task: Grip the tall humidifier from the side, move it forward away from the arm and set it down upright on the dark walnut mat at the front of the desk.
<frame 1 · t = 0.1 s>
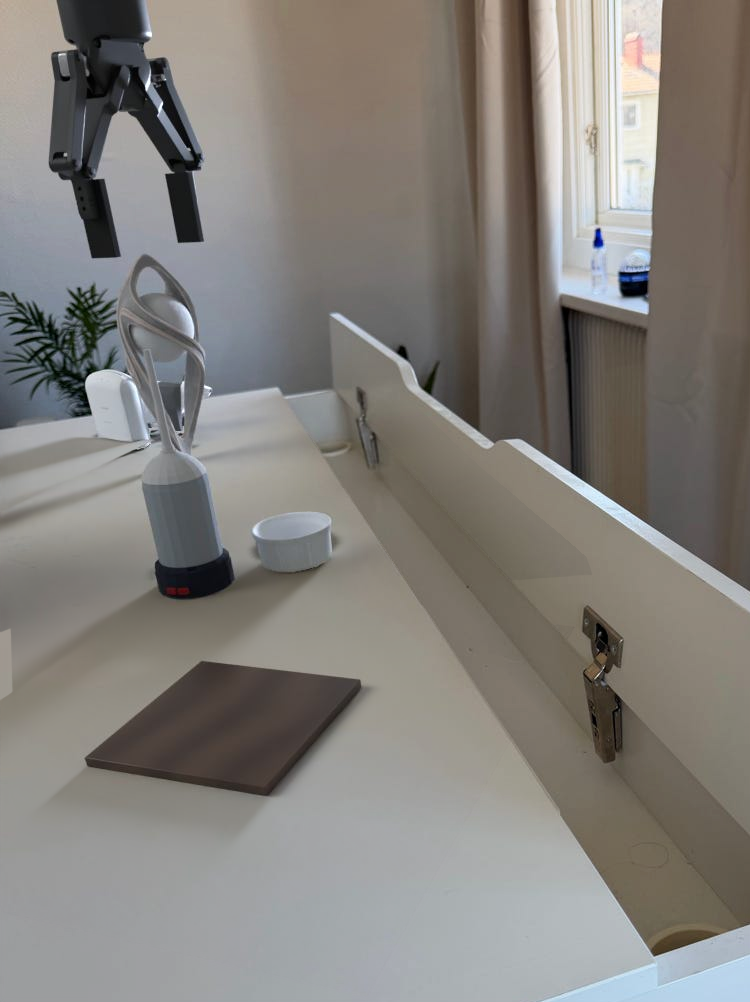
hand: (151, 250, 95), 34 cm above the table, tool pointing down, fingers open, 13 cm apart
dark grey angular block: (173, 432, 168), on the table
photo printer: (126, 447, 162), on the table
sculpture: (187, 461, 151), on the table
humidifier: (197, 584, 107), on the table
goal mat: (231, 724, 80), on the table
ramekin: (297, 561, 111), on the table
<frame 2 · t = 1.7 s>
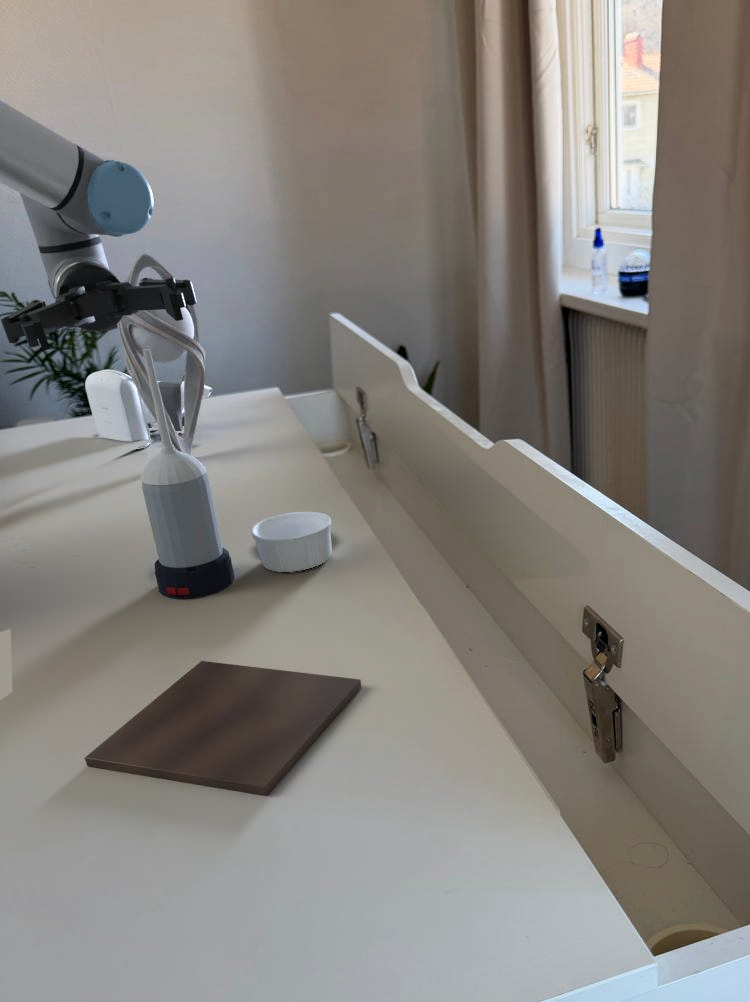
hand: (110, 321, 100), 27 cm above the table, tool horizontal, fingers open, 13 cm apart
nothing on the table moved.
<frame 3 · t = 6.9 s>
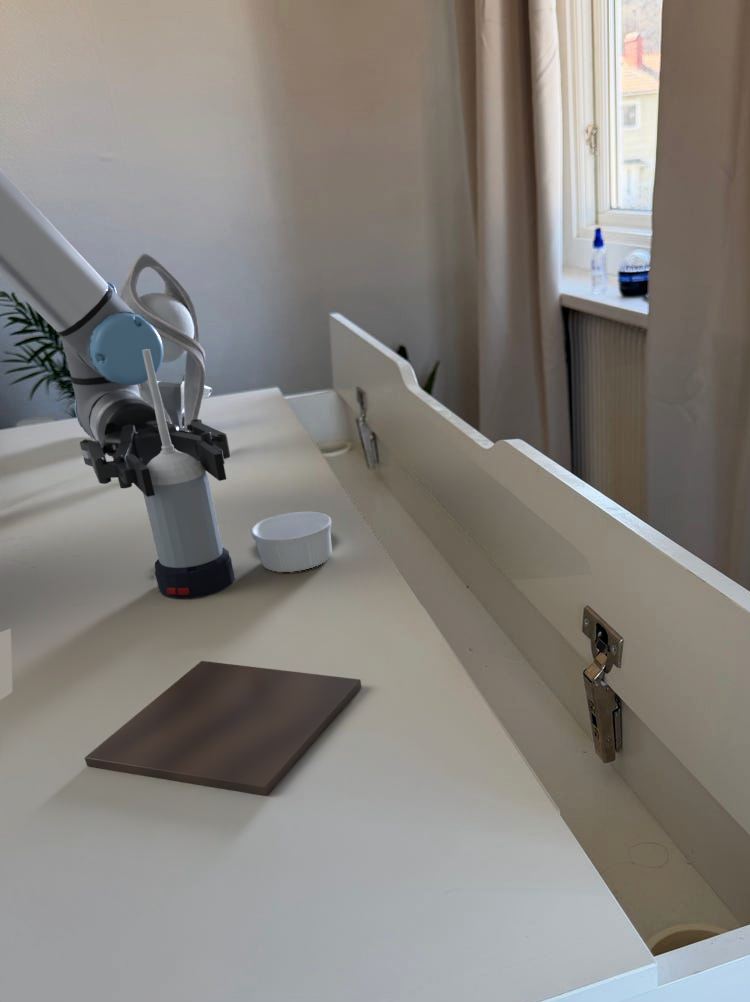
hand: (184, 474, 97), 13 cm above the table, tool horizontal, fingers closed on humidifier, 7 cm apart
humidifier: (197, 584, 107), on the table, touching gripper
everything else where it was.
when the fingers open (14 cm above the table, at t = 15.1 s): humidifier stays where it is, resting on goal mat.
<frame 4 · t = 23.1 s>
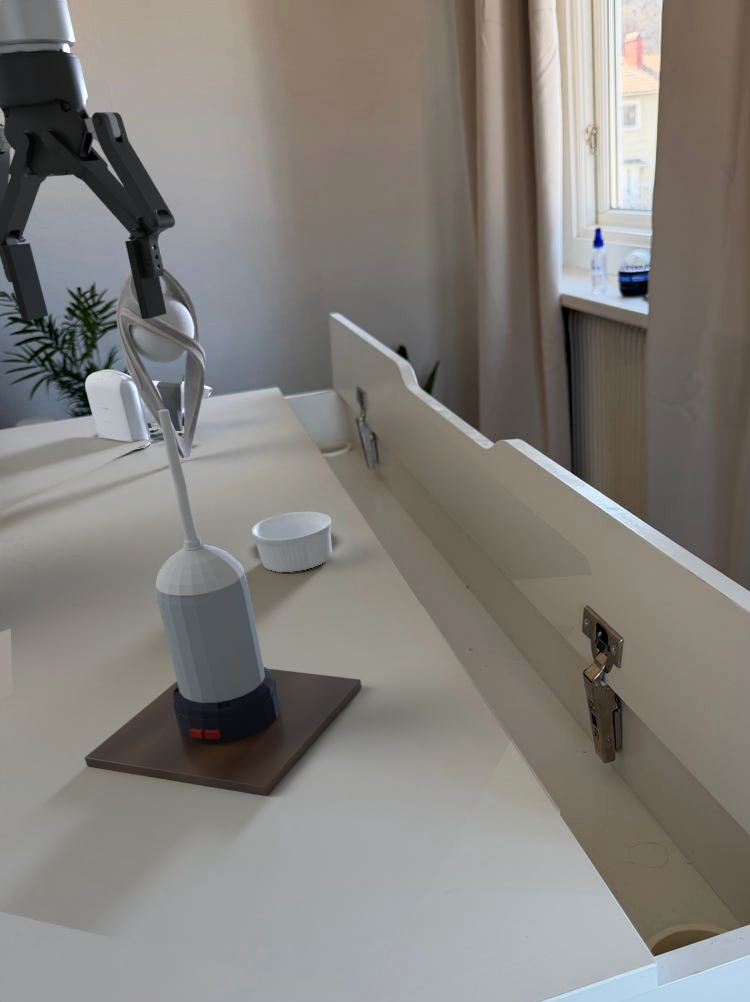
hand: (93, 317, 91), 29 cm above the table, tool pointing down, fingers open, 13 cm apart
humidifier: (230, 718, 79), point 1 cm above the table, touching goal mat
everything else where it was.
at the end: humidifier inside the target area on the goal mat (0.1 cm from its centre), point 0.6 cm above the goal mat's base; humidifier tilted 0°; the gripper is holding nothing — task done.
